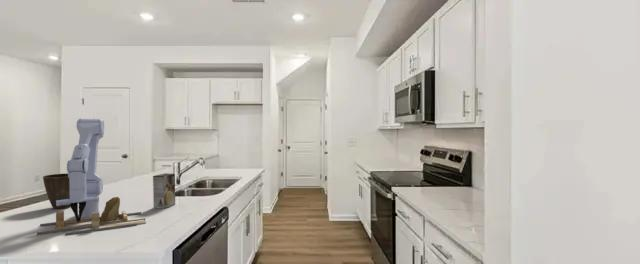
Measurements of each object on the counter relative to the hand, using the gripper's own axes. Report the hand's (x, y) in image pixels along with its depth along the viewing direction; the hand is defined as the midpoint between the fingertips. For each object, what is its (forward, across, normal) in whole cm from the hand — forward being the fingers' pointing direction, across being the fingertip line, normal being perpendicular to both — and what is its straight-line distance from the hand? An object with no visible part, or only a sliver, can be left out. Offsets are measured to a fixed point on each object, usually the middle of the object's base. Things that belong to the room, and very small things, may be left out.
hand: (78, 221), depth 148 cm
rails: (+2, +5, -3) cm, 7 cm away
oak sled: (+2, +5, 0) cm, 5 cm away
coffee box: (+2, +36, +17) cm, 40 cm away
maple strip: (+2, +14, -10) cm, 17 cm away
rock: (+2, +10, 0) cm, 11 cm away
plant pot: (+2, -7, +41) cm, 42 cm away
